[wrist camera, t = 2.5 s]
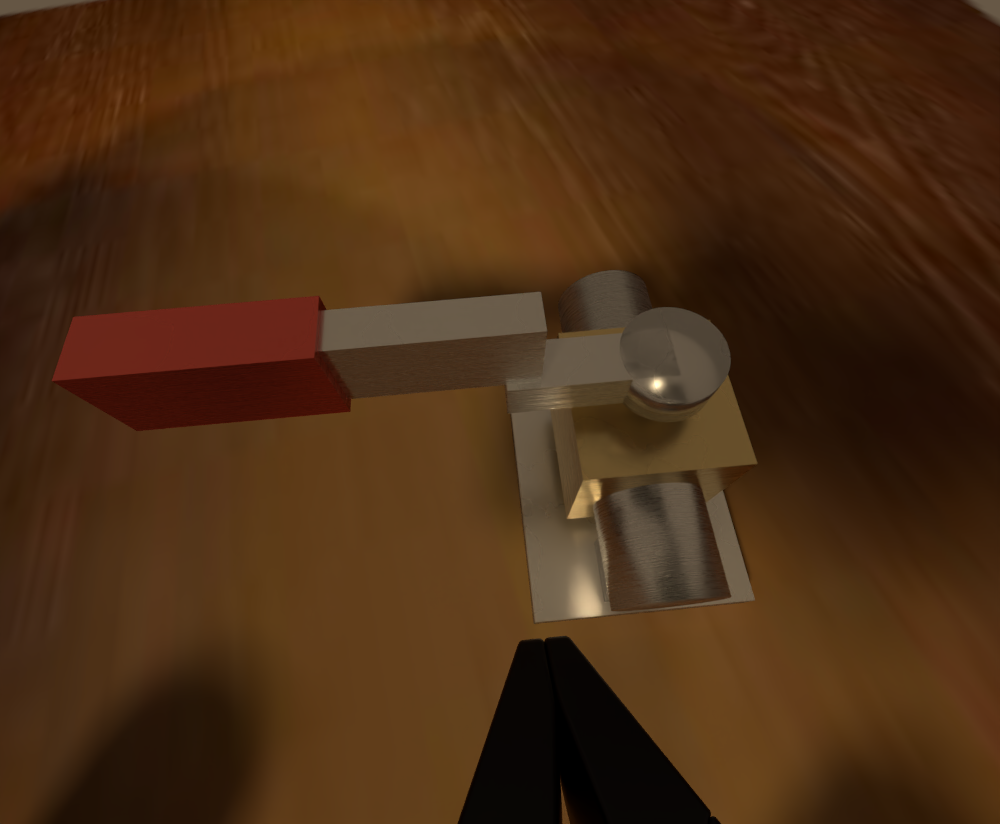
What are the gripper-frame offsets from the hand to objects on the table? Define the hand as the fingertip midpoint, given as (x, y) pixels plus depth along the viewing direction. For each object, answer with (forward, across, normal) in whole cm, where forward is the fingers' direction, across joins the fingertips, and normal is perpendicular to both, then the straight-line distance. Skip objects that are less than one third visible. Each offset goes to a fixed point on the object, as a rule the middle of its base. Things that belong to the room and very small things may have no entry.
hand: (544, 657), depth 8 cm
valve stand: (+15, -5, +4) cm, 16 cm away
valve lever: (+9, +2, -2) cm, 9 cm away
